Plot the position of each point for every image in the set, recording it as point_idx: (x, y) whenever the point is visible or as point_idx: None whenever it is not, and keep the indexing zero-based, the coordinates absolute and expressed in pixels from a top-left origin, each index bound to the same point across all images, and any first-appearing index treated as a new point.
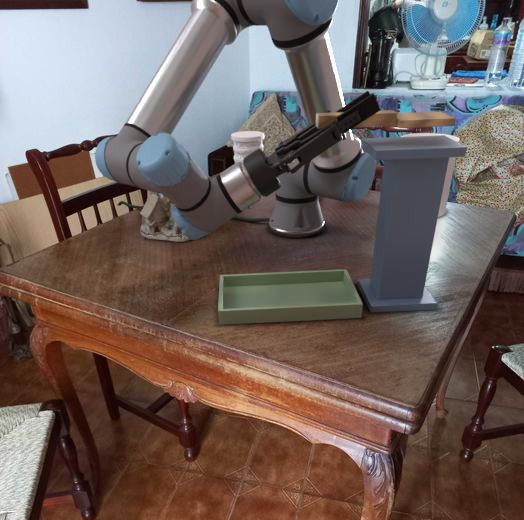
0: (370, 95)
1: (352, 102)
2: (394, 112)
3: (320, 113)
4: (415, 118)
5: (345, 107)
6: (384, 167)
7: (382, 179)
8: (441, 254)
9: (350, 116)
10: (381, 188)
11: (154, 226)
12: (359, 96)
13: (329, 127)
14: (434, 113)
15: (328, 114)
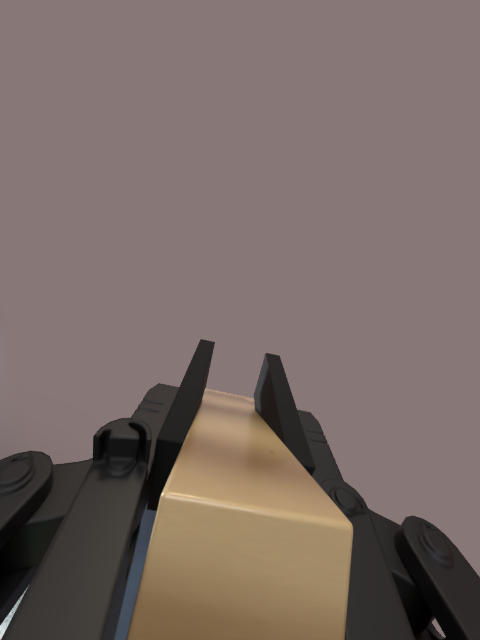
0: (274, 358)
1: (205, 373)
2: (242, 398)
3: (203, 475)
4: (252, 406)
5: (198, 395)
6: (147, 548)
7: (129, 592)
8: (3, 629)
9: (326, 440)
10: (121, 627)
11: None
12: (199, 353)
13: (432, 575)
14: (205, 390)
15: (268, 462)
